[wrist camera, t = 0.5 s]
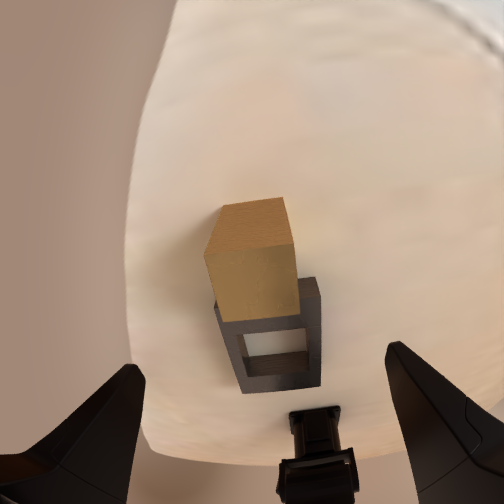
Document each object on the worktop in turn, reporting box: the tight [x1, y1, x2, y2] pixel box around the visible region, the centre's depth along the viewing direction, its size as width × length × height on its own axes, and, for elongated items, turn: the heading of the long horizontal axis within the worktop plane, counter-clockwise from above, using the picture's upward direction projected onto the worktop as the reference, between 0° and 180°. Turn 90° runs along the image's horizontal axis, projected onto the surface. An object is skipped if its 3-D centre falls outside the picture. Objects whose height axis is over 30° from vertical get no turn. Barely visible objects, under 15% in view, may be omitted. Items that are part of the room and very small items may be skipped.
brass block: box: [204, 197, 300, 322], centre depth 16 cm, size 4×4×7 cm
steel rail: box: [214, 277, 321, 394], centre depth 23 cm, size 11×8×2 cm
